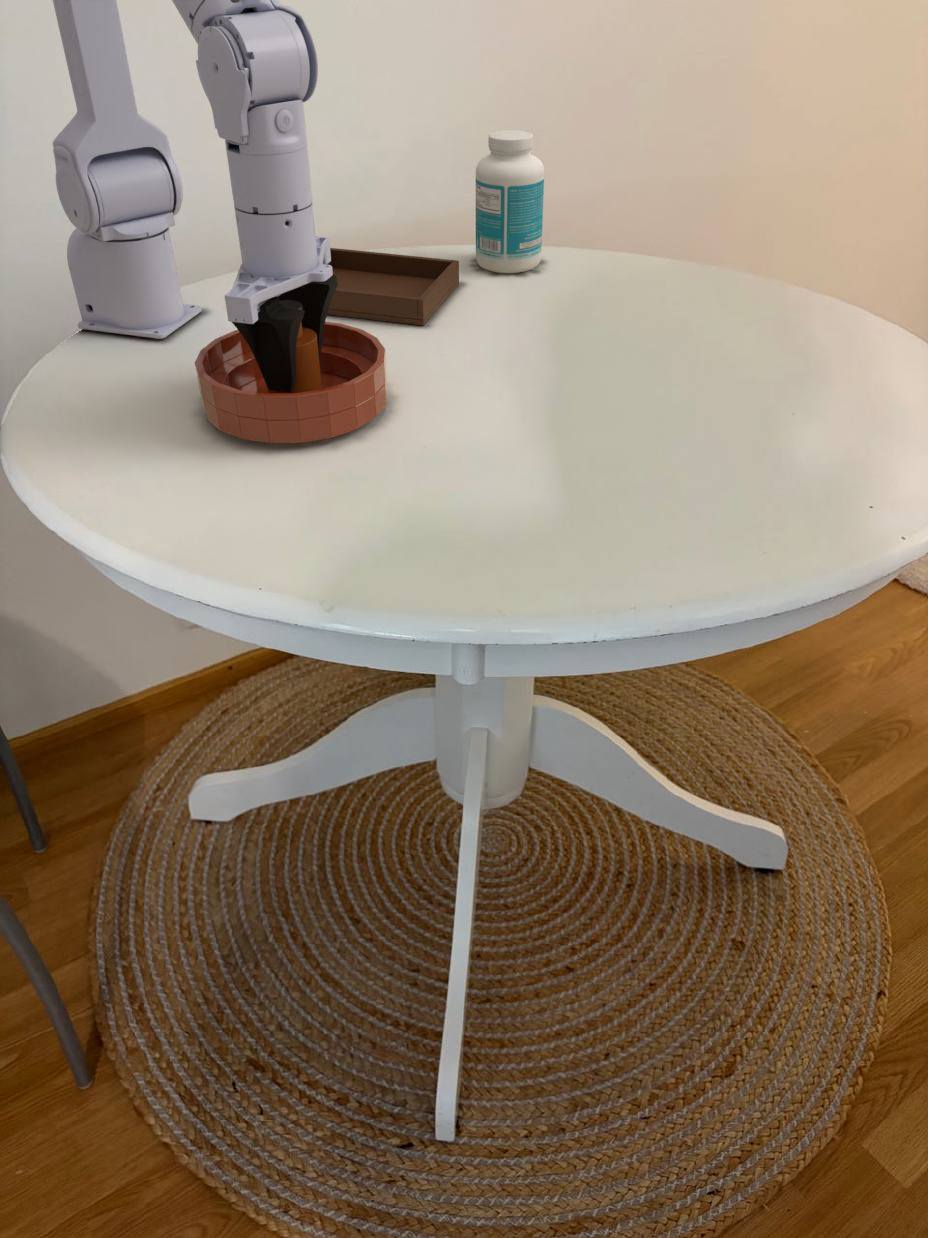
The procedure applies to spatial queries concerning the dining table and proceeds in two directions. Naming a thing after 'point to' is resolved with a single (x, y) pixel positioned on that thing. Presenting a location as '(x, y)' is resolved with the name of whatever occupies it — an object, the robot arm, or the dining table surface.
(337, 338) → the bowl
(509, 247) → the pill bottle
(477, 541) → the dining table surface
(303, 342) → the bottle
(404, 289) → the tray
